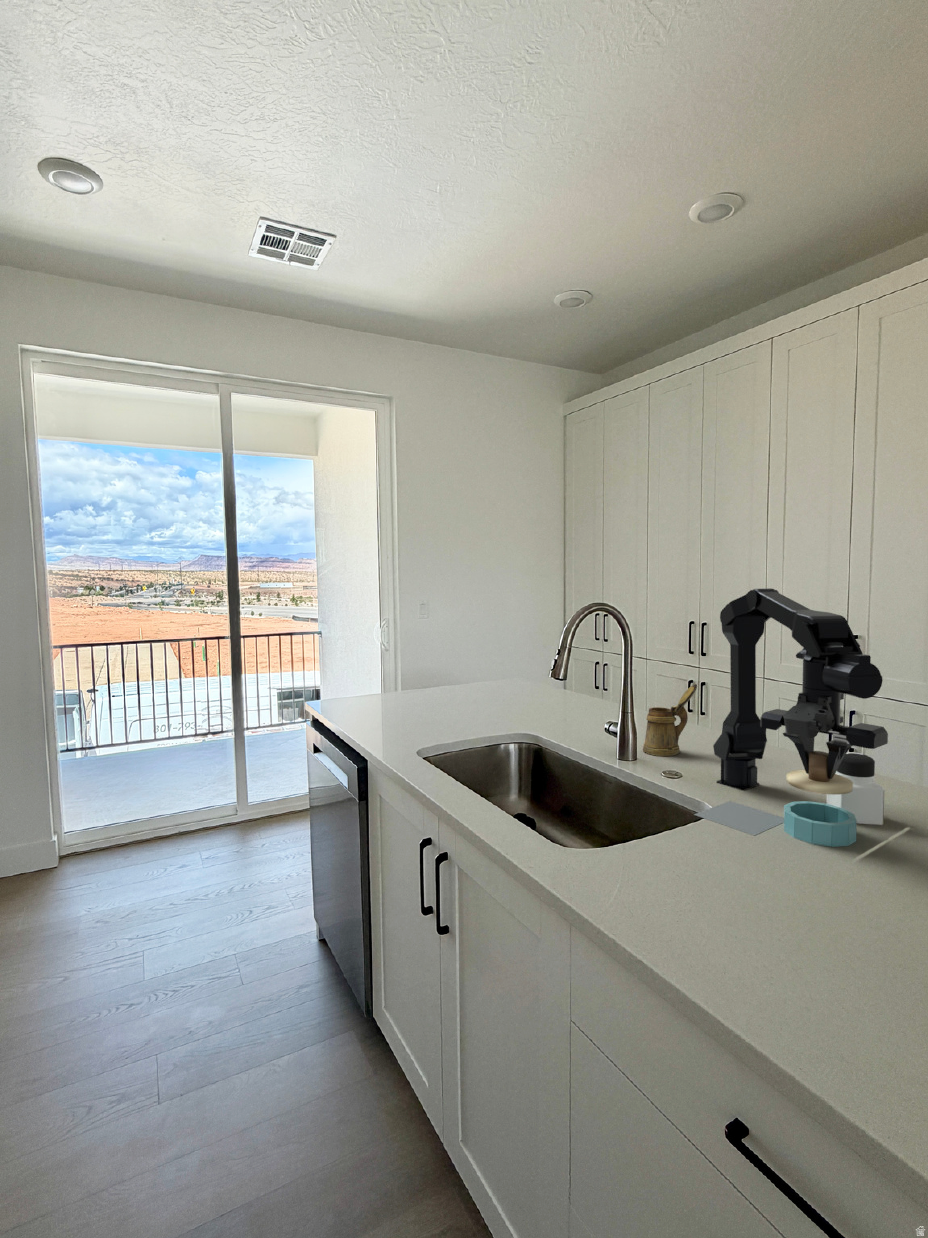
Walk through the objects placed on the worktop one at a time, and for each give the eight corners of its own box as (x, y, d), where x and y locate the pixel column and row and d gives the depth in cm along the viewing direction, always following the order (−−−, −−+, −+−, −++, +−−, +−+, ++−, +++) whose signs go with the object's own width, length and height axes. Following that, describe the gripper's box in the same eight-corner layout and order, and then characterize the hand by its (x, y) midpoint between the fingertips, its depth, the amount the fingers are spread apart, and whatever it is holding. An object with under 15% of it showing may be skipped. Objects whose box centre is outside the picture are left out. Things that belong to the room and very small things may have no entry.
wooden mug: (700, 757, 154) (700, 687, 153) (644, 755, 156) (644, 686, 155) (693, 748, 163) (694, 681, 162) (641, 746, 165) (641, 680, 164)
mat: (693, 816, 116) (693, 814, 116) (730, 802, 123) (730, 800, 123) (754, 837, 106) (754, 835, 106) (790, 821, 113) (790, 819, 113)
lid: (775, 782, 108) (776, 752, 107) (803, 771, 114) (804, 742, 113) (836, 799, 100) (837, 765, 99) (863, 786, 105) (864, 754, 105)
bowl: (771, 832, 109) (772, 810, 108) (802, 818, 115) (803, 797, 114) (836, 854, 100) (837, 830, 99) (866, 837, 106) (867, 814, 106)
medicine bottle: (884, 827, 110) (885, 761, 109) (840, 824, 112) (841, 759, 111) (866, 812, 117) (868, 750, 116) (825, 810, 119) (827, 749, 118)
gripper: (744, 685, 109) (742, 771, 110) (859, 701, 93) (856, 801, 94) (777, 678, 115) (775, 760, 116) (890, 693, 100) (887, 786, 101)
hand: (819, 776), depth 107 cm, fingers closed on lid, 3 cm apart
